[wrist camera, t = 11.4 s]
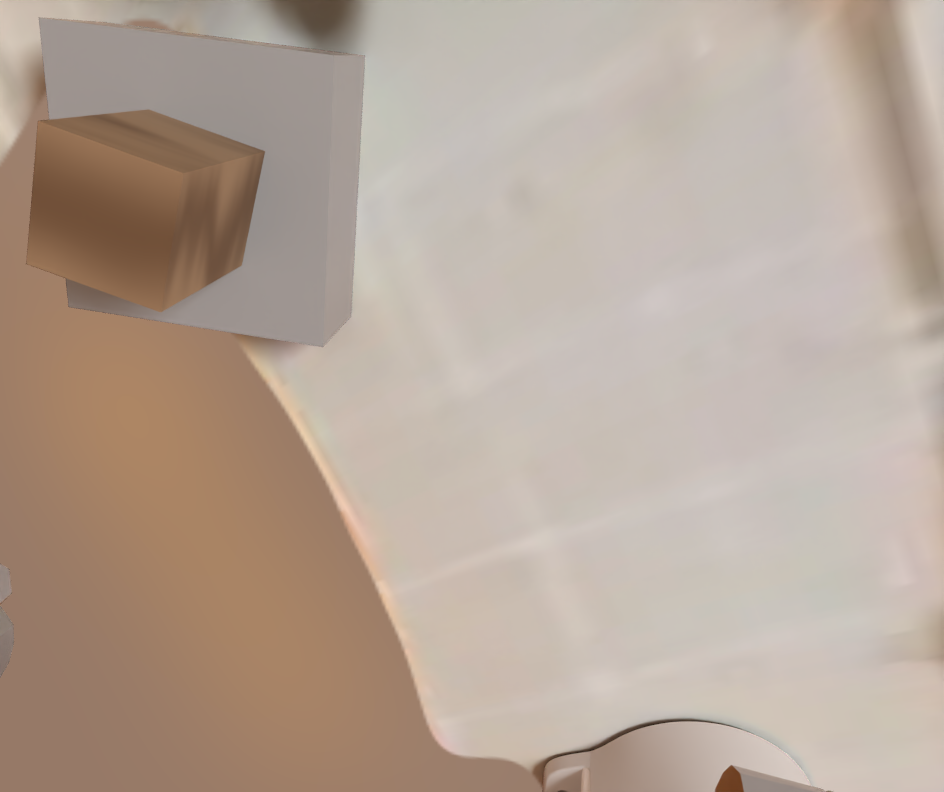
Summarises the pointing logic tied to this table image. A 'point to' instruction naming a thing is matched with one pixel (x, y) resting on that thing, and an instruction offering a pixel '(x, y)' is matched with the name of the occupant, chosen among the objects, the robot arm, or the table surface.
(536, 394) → the table surface
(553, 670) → the table surface
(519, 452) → the table surface
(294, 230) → the plate
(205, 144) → the walnut block
